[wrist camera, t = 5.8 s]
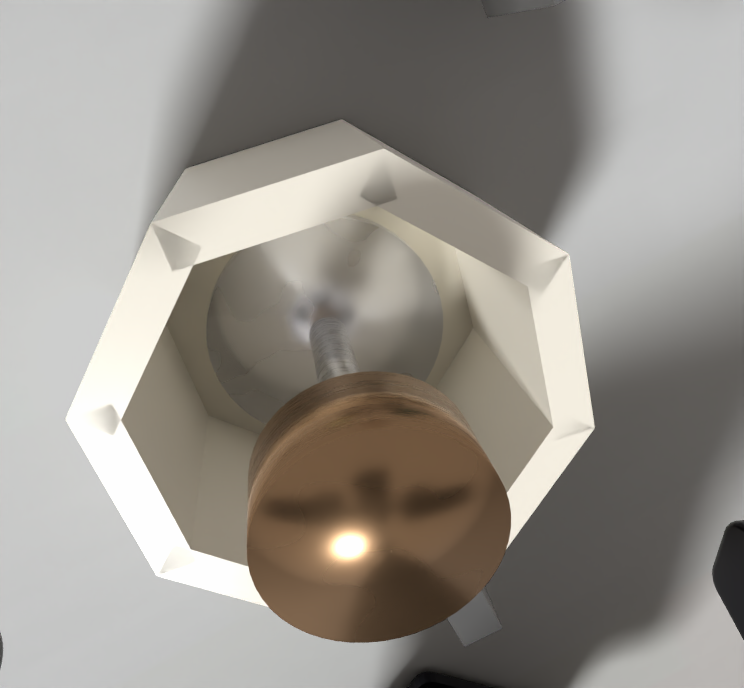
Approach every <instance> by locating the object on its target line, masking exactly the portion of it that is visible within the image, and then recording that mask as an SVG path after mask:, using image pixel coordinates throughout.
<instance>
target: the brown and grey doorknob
mask: <svg viewBox="0 0 744 688" xmlns="http://www.w3.org/2000/svg"><path fill="white" fill-rule="evenodd" d="M442 333H443V311H442V305H441V299H440V296H439V293H438V290H437V287H436V284H435V282H434V280H433V278H432V276H431V274H430V272H429V270H428V269H427V267H426V266H425V264H424V263H423V261H422V260H421V259H420V257H419V256H418V255H417V254H416V253H415V252H414V251H413V249H412V248H411V247H410V246H409V245H408V244H407V243H406V242H405V241H404V240H402V239H401V238H400V237H399V236H398V235H396V234H395V233H394V232H392V231H390V230H389V229H387V228H385V227H384V226H382V225H380V224H378V223H375V222H373V221H371V220H369V219H366V218H362V217H359V216H355V215H348V216H345V217H342V218H339V219H335V220H332V221H329V222H326V223H323V224H320V225H317V226H314V227H311V228H307V229H304V230H301V231H298V232H295V233H292V234H289V235H286V236H283V237H279V238H276V239H273V240H270V241H267V242H264V243H261V244H258V245H255V246H251V247H248V248H245V249H242V250H239V251H236V252H235V253H234V255H233V256H232V257H231V258H230V260H229V261H228V262H227V264H226V265H225V267H224V268H223V270H222V272H221V274H220V275H219V277H218V279H217V282H216V284H215V287H214V289H213V292H212V295H211V300H210V304H209V308H208V314H207V324H206V339H207V348H208V353H209V357H210V361H211V363H212V366H213V369H214V372H215V374H216V376H217V378H218V379H219V381H220V383H221V385H222V386H223V388H224V389H225V390H226V392H227V393H228V395H229V396H230V397H231V398H232V399H233V400H234V401H235V402H236V403H237V404H238V405H239V407H241V408H242V409H243V410H244V411H246V412H247V413H248V414H249V415H251V416H252V417H254V418H256V419H257V420H259V421H260V422H262V423H264V424H266V426H265V427H264V429H263V430H262V432H261V434H260V435H259V437H258V439H257V442H256V444H255V446H254V448H253V452H252V455H251V459H250V463H249V471H248V504H247V562H248V567H249V572H250V576H251V578H252V581H253V583H254V586H255V588H256V590H257V591H258V593H259V595H260V596H261V598H262V599H263V601H264V602H265V603H266V604H267V605H268V607H269V608H270V609H271V610H272V611H273V612H274V613H276V614H277V615H278V616H279V617H280V618H281V619H283V620H284V621H286V622H287V623H289V624H290V625H292V626H294V627H295V628H298V629H300V630H302V631H304V632H306V633H309V634H312V635H315V636H318V637H321V638H325V639H330V640H334V641H342V642H378V641H386V640H391V639H396V638H401V637H404V636H407V635H411V634H414V633H417V632H419V631H422V630H424V629H427V628H429V627H432V626H434V625H435V624H437V623H439V622H441V621H443V620H445V619H447V618H448V617H450V616H451V615H453V614H454V613H456V612H458V611H459V610H460V609H461V608H463V607H464V606H465V605H466V604H468V603H469V602H470V601H471V600H472V599H473V598H474V597H475V596H476V595H477V594H478V593H479V592H480V591H481V590H482V589H483V588H484V587H485V585H486V584H487V583H488V582H489V581H490V579H491V578H492V576H493V575H494V573H495V572H496V570H497V568H498V567H499V565H500V563H501V561H502V558H503V556H504V554H505V551H506V548H507V545H508V542H509V536H510V530H511V510H510V503H509V499H508V496H507V493H506V490H505V487H504V485H503V483H502V481H501V479H500V477H499V476H498V474H497V472H496V470H495V469H494V467H493V465H492V464H491V462H490V460H489V458H488V457H487V455H486V453H485V452H484V450H483V448H482V446H481V445H480V443H479V441H478V440H477V438H476V436H475V434H474V433H473V431H472V429H471V428H470V426H469V424H468V422H467V421H466V419H465V417H464V416H463V414H462V413H461V411H460V410H459V409H458V407H457V406H456V405H455V404H454V403H453V402H452V401H451V400H450V399H449V398H448V397H447V396H446V395H445V394H443V393H442V392H440V391H439V390H438V389H436V388H435V387H433V386H431V385H429V384H427V383H425V381H426V379H427V378H428V376H429V374H430V372H431V370H432V368H433V367H434V364H435V361H436V359H437V356H438V353H439V349H440V345H441V341H442Z"/></svg>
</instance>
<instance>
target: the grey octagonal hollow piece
mask: <svg viewBox="0 0 744 688" xmlns="http://www.w3.org/2000/svg"><path fill="white" fill-rule="evenodd" d="M563 1H565V0H481V2H482V5H483V8H484V11H485V13H486V16H487V18H489V17H494V16H500V15H506V14H511V13H517V12H523V11H528V10H534V9H539V8H545V7H551V6H556V5H557V4H559V3H561V2H563Z"/></svg>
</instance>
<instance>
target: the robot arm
mask: <svg viewBox="0 0 744 688" xmlns="http://www.w3.org/2000/svg"><path fill="white" fill-rule="evenodd" d="M712 576H713V582H714V585H715V587H716V590H717V592H718V593H719V595H720V597H721V599H722V601H723V603H724V605H725V606H726V608H727V610H728V612H729V614H730V616H731V618H732V619H733V621H734V623H735V625H736V627H737V629H738V630H739V632H740V634H741V636H742V638H743V640H744V520H740V521H734V522H731V523H730V524H729V525H728V526H727V527H726V529H725V531H724V535H723V538H722V541H721V544H720V547H719V550H718V553H717V556H716V559H715V562H714V565H713V569H712ZM2 657H3V642H2V637H1V633H0V668H1V664H2ZM408 688H492V687H488V686H484V685H480V684H477V683H473V682H469V681H465V680H462V679H458V678H454V677H450V676H447V675H443V674H439V673H435V672H424V673H421V674H419V675H417V676H416V677H415V678H414V679H413V681H412V682H411V684H410V685H409V686H408Z"/></svg>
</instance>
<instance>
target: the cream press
mask: <svg viewBox="0 0 744 688" xmlns="http://www.w3.org/2000/svg"><path fill="white" fill-rule="evenodd" d="M348 215H355V216H359V217H362V218H366V219H369V220H371V221H373V222H375V223H378V224H380V225H382V226H384V227H385V228H387V229H389V230H390V231H392V232H394V233H395V234H396V235H398V236H399V237H400V238H401V239H402V240H404V241H405V242H406V243H407V244H408V245H409V246H410V247H411V248H412V249H413V251H414V252H415V253H416V254H417V255H418V256H419V257H420V259H421V260H422V261H423V263H424V264H425V266H426V267H427V269H428V270H429V272H430V274H431V276H432V278H433V280H434V282H435V284H436V287H437V290H438V293H439V296H440V299H441V305H442V311H443V333H442V341H441V345H440V349H439V353H438V356H437V359H436V361H435V364H434V367H433V368H432V370H431V372H430V374H429V376H428V378H427V379H426V381H425V383H427V384H429V385H431V386H433V387H435V388H436V389H438V390H439V391H440V392H442V393H443V394H445V395H446V396H447V397H448V398H449V399H450V400H451V401H452V402H453V403H454V404H455V405H456V406H457V407H458V409H459V410H460V411H461V413H462V414H463V416H464V417H465V419H466V421H467V422H468V424H469V426H470V428H471V429H472V431H473V433H474V434H475V436H476V438H477V440H478V441H479V443H480V445H481V446H482V448H483V450H484V452H485V453H486V455H487V457H488V458H489V460H490V462H491V464H492V465H493V467H494V469H495V470H496V472H497V474H498V476H499V477H500V479H501V481H502V483H503V485H504V487H505V490H506V493H507V496H508V499H509V503H510V510H511V530H510V536H509V542H508V545H507V548H508V546H509V545H510V543H511V542H512V541H513V539H514V538H515V537H516V535H517V534H518V533H519V531H520V530H521V528H522V527H523V526H524V524H525V523H526V522H527V520H528V519H529V517H530V516H531V515H532V513H533V512H534V511H535V509H536V508H537V506H538V505H539V504H540V502H541V501H542V500H543V498H544V497H545V496H546V494H547V493H548V491H549V490H550V489H551V487H552V486H553V485H554V483H555V482H556V480H557V479H558V478H559V476H560V475H561V474H562V472H563V471H564V470H565V468H566V467H567V465H568V464H569V463H570V461H571V460H572V459H573V457H574V456H575V454H576V453H577V452H578V450H579V449H580V448H581V446H582V445H583V443H584V442H585V441H586V439H587V438H588V437H589V435H590V434H591V433H592V431H593V430H594V428H595V426H594V419H593V412H592V405H591V399H590V392H589V385H588V378H587V371H586V365H585V358H584V351H583V344H582V338H581V331H580V324H579V317H578V311H577V304H576V297H575V290H574V283H573V277H572V270H571V263H570V256H569V254H568V253H567V252H565V251H563V250H562V249H560V248H559V247H557V246H555V245H554V244H552V243H551V242H549V241H547V240H546V239H544V238H542V237H541V236H539V235H538V234H536V233H534V232H533V231H531V230H530V229H528V228H526V227H525V226H523V225H522V224H520V223H518V222H517V221H515V220H514V219H512V218H510V217H509V216H507V215H506V214H504V213H502V212H501V211H499V210H498V209H496V208H494V207H493V206H491V205H490V204H488V203H486V202H485V201H483V200H481V199H480V198H478V197H477V196H475V195H473V194H472V193H470V192H468V191H466V190H465V189H463V188H461V187H459V186H458V185H456V184H454V183H452V182H451V181H449V180H447V179H446V178H444V177H442V176H440V175H439V174H437V173H435V172H433V171H432V170H430V169H428V168H426V167H425V166H423V165H421V164H419V163H418V162H416V161H414V160H412V159H411V158H409V157H407V156H405V155H404V154H402V153H400V152H398V151H397V150H395V149H393V148H392V147H390V146H388V145H386V144H385V143H383V142H381V141H379V140H378V139H376V138H374V137H372V136H371V135H369V134H367V133H365V132H364V131H362V130H360V129H358V128H357V127H355V126H353V125H351V124H350V123H348V122H346V121H345V120H343V119H341V120H338V121H334V122H331V123H328V124H325V125H322V126H319V127H315V128H312V129H309V130H306V131H303V132H300V133H296V134H293V135H290V136H287V137H284V138H281V139H277V140H274V141H271V142H268V143H265V144H262V145H258V146H255V147H252V148H249V149H246V150H243V151H239V152H236V153H233V154H230V155H227V156H224V157H221V158H217V159H214V160H211V161H208V162H205V163H202V164H198V165H195V166H192V167H189V168H186V169H185V170H184V172H183V173H182V175H181V176H180V178H179V179H178V181H177V183H176V184H175V186H174V187H173V189H172V190H171V192H170V194H169V195H168V197H167V198H166V200H165V201H164V203H163V205H162V206H161V208H160V209H159V211H158V212H157V214H156V215H155V217H154V219H153V220H152V222H151V224H150V226H149V228H148V230H147V233H146V235H145V237H144V240H143V242H142V244H141V246H140V249H139V251H138V253H137V256H136V258H135V260H134V263H133V265H132V267H131V269H130V272H129V274H128V276H127V279H126V281H125V283H124V285H123V288H122V290H121V292H120V295H119V297H118V299H117V302H116V304H115V306H114V308H113V311H112V313H111V315H110V318H109V320H108V322H107V325H106V327H105V329H104V331H103V334H102V336H101V338H100V341H99V343H98V345H97V347H96V350H95V352H94V354H93V357H92V359H91V361H90V364H89V366H88V368H87V370H86V373H85V375H84V377H83V380H82V382H81V384H80V386H79V389H78V391H77V393H76V396H75V398H74V400H73V403H72V405H71V407H70V409H69V412H68V414H67V416H66V419H65V420H66V421H67V423H68V425H69V427H70V428H71V430H72V432H73V433H74V435H75V437H76V439H77V440H78V442H79V444H80V445H81V447H82V449H83V451H84V452H85V454H86V456H87V457H88V459H89V461H90V462H91V464H92V466H93V468H94V469H95V471H96V473H97V474H98V476H99V478H100V480H101V481H102V483H103V485H104V486H105V488H106V490H107V492H108V493H109V495H110V497H111V498H112V500H113V502H114V504H115V505H116V507H117V509H118V510H119V512H120V514H121V515H122V517H123V519H124V521H125V522H126V524H127V526H128V527H129V529H130V531H131V533H132V534H133V536H134V538H135V539H136V541H137V543H138V545H139V546H140V548H141V550H142V551H143V553H144V555H145V557H146V558H147V560H148V562H149V563H150V565H151V567H152V569H153V570H154V572H155V574H156V575H157V576H159V577H163V578H166V579H170V580H173V581H177V582H181V583H184V584H188V585H191V586H195V587H199V588H202V589H206V590H209V591H213V592H217V593H220V594H224V595H227V596H231V597H235V598H238V599H242V600H245V601H249V602H253V603H256V604H260V605H263V606H267V607H268V605H267V604H266V603H265V602H264V601H263V599H262V598H261V596H260V595H259V593H258V591H257V590H256V588H255V586H254V583H253V581H252V578H251V576H250V572H249V567H248V562H247V504H248V471H249V463H250V459H251V455H252V452H253V448H254V446H255V444H256V442H257V439H258V437H259V435H260V434H261V432H262V430H263V429H264V427H265V426H266V424H264V423H262V422H260V421H259V420H257V419H256V418H254V417H252V416H251V415H249V414H248V413H247V412H246V411H244V410H243V409H242V408H241V407H239V405H238V404H237V403H236V402H235V401H234V400H233V399H232V398H231V397H230V396H229V395H228V393H227V392H226V390H225V389H224V388H223V386H222V385H221V383H220V381H219V379H218V378H217V376H216V374H215V372H214V369H213V366H212V363H211V361H210V357H209V353H208V348H207V339H206V324H207V314H208V308H209V304H210V300H211V295H212V292H213V289H214V287H215V284H216V282H217V279H218V277H219V275H220V274H221V272H222V270H223V268H224V267H225V265H226V264H227V262H228V261H229V260H230V258H231V257H232V256H233V255H234V253H235V252H236V251H239V250H242V249H245V248H248V247H251V246H255V245H258V244H261V243H264V242H267V241H270V240H273V239H276V238H279V237H283V236H286V235H289V234H292V233H295V232H298V231H301V230H304V229H307V228H311V227H314V226H317V225H320V224H323V223H326V222H329V221H332V220H335V219H339V218H342V217H345V216H348ZM507 548H506V549H507ZM447 620H448V621H449V623H450V624H451V626H452V628H453V629H454V631H455V632H456V634H457V636H458V637H459V639H460V640H461V642H462V644H463V645H464V647H465V646H468V645H470V644H472V643H474V642H476V641H478V640H480V639H482V638H484V637H486V636H488V635H490V634H492V633H494V632H496V631H498V630H500V629H502V626H501V623H500V621H499V619H498V617H497V614H496V612H495V610H494V607H493V605H492V603H491V600H490V598H489V596H488V594H487V591H486V589H485V587H484V588H483V589H482V590H481V591H480V592H479V593H478V594H477V595H476V596H475V597H474V598H473V599H472V600H471V601H470V602H469V603H468V604H466V605H465V606H464V607H463V608H461V609H460V610H459V611H458V612H456V613H454V614H453V615H451V616H450V617H448V618H447Z"/></svg>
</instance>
